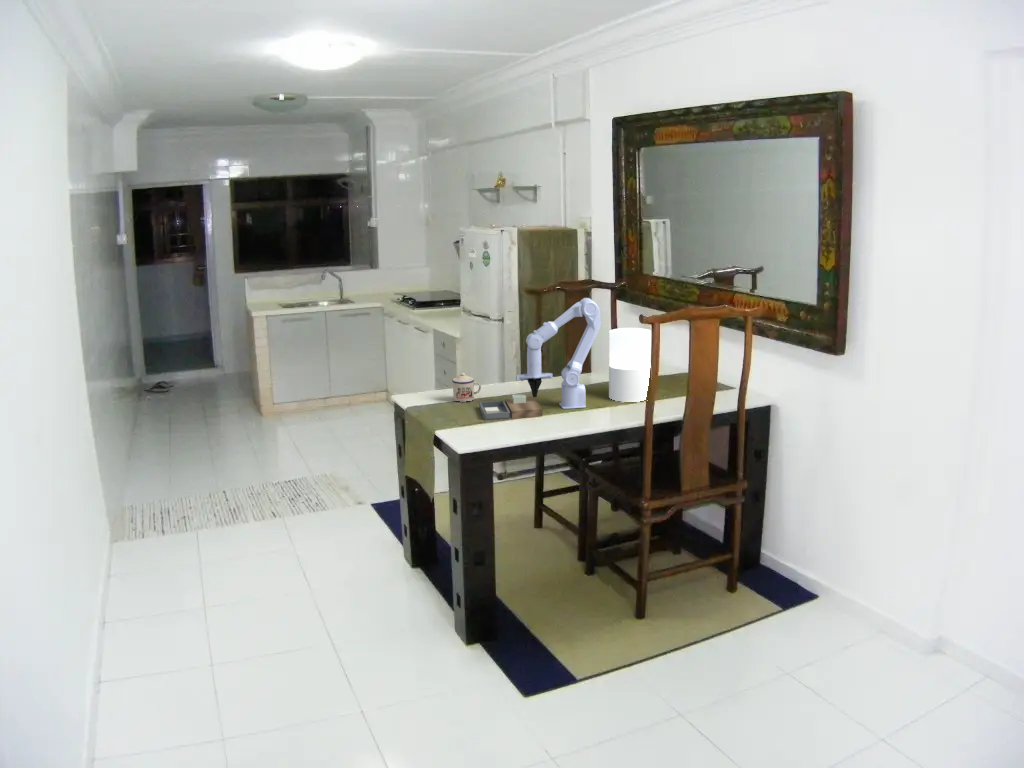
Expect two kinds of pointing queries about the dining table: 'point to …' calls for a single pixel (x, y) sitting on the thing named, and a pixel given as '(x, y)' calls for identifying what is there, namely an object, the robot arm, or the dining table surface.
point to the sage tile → (518, 398)
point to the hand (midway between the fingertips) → (534, 396)
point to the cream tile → (492, 410)
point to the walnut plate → (524, 408)
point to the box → (502, 414)
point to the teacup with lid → (464, 388)
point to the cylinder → (629, 364)
